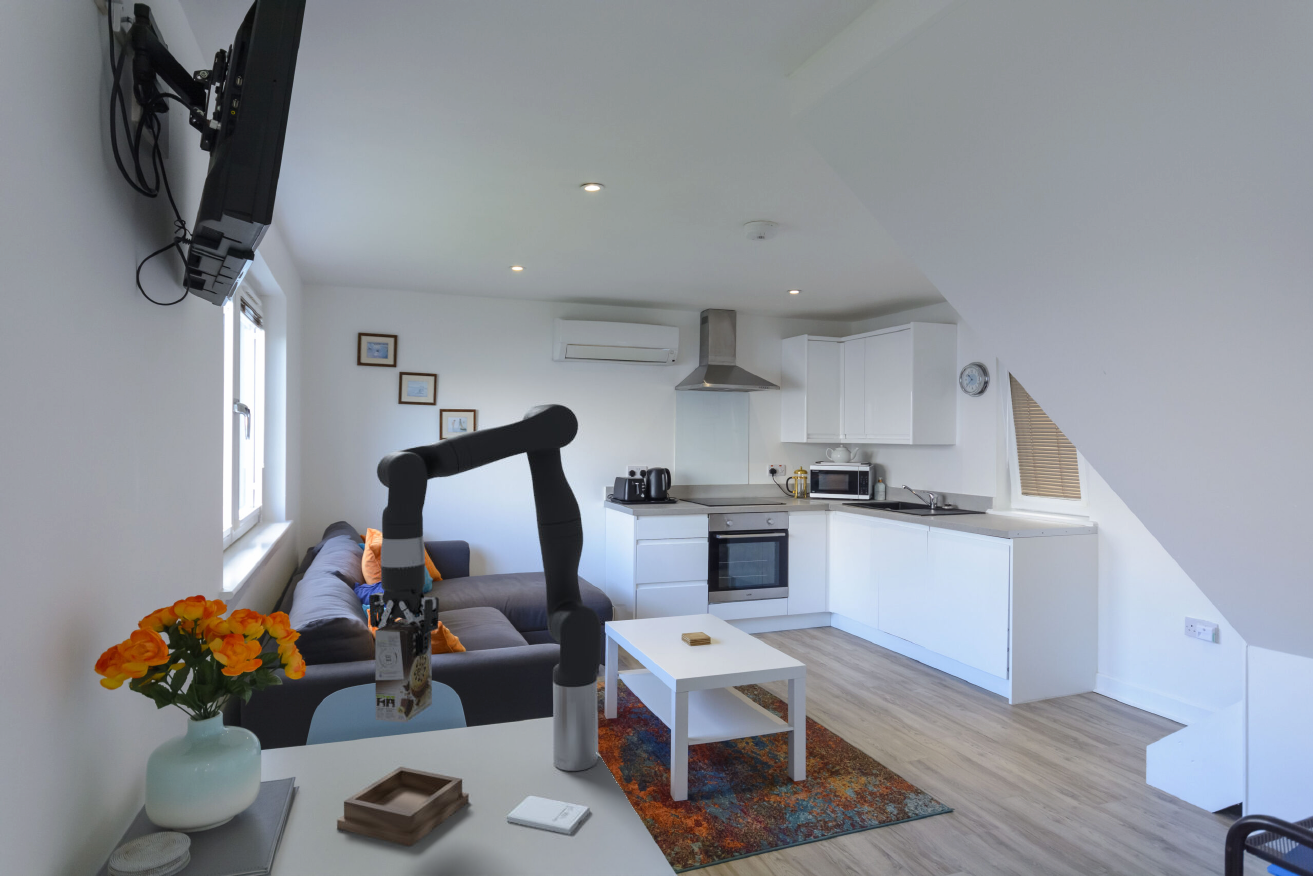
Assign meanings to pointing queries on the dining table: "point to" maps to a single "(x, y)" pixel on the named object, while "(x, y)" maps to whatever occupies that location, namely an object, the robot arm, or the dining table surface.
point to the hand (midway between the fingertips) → (404, 652)
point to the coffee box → (401, 673)
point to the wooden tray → (403, 805)
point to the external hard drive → (548, 814)
